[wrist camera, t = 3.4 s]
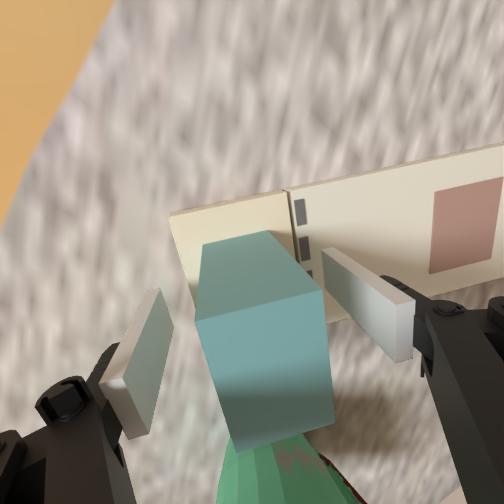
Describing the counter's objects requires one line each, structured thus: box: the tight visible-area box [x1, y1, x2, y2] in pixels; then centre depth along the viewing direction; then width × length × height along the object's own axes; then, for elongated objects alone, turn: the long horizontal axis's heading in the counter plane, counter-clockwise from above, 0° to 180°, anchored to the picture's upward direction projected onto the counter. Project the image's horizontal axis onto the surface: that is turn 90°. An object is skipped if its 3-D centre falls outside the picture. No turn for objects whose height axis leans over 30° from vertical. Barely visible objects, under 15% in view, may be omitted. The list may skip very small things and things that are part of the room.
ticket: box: [284, 142, 504, 324], centre depth 18 cm, size 18×10×2 cm, turn 101°
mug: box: [216, 434, 367, 504], centre depth 19 cm, size 15×10×10 cm
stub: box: [167, 190, 336, 453], centre depth 13 cm, size 7×10×10 cm
